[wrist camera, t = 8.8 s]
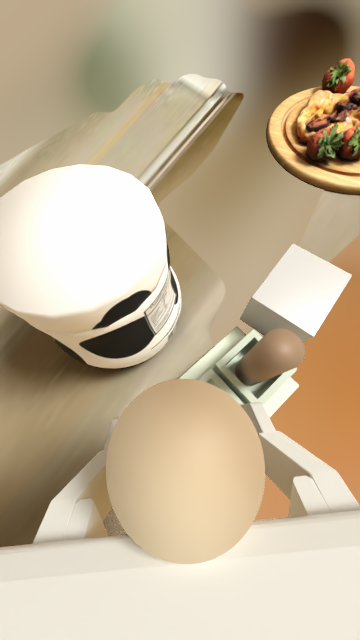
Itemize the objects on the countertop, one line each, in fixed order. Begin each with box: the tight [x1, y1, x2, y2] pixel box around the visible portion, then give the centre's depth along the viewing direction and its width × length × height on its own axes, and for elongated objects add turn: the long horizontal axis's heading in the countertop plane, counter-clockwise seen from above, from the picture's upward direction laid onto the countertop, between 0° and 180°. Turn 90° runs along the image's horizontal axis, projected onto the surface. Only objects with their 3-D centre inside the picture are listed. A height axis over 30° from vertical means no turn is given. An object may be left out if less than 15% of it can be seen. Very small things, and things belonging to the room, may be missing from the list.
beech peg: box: [106, 379, 265, 564], centre depth 11 cm, size 4×4×12 cm
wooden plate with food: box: [266, 59, 360, 194], centre depth 45 cm, size 32×32×8 cm
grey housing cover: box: [240, 244, 352, 343], centre depth 31 cm, size 10×8×7 cm
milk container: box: [0, 164, 181, 368], centre depth 27 cm, size 17×17×18 cm
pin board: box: [179, 327, 305, 418], centre depth 24 cm, size 16×11×13 cm
